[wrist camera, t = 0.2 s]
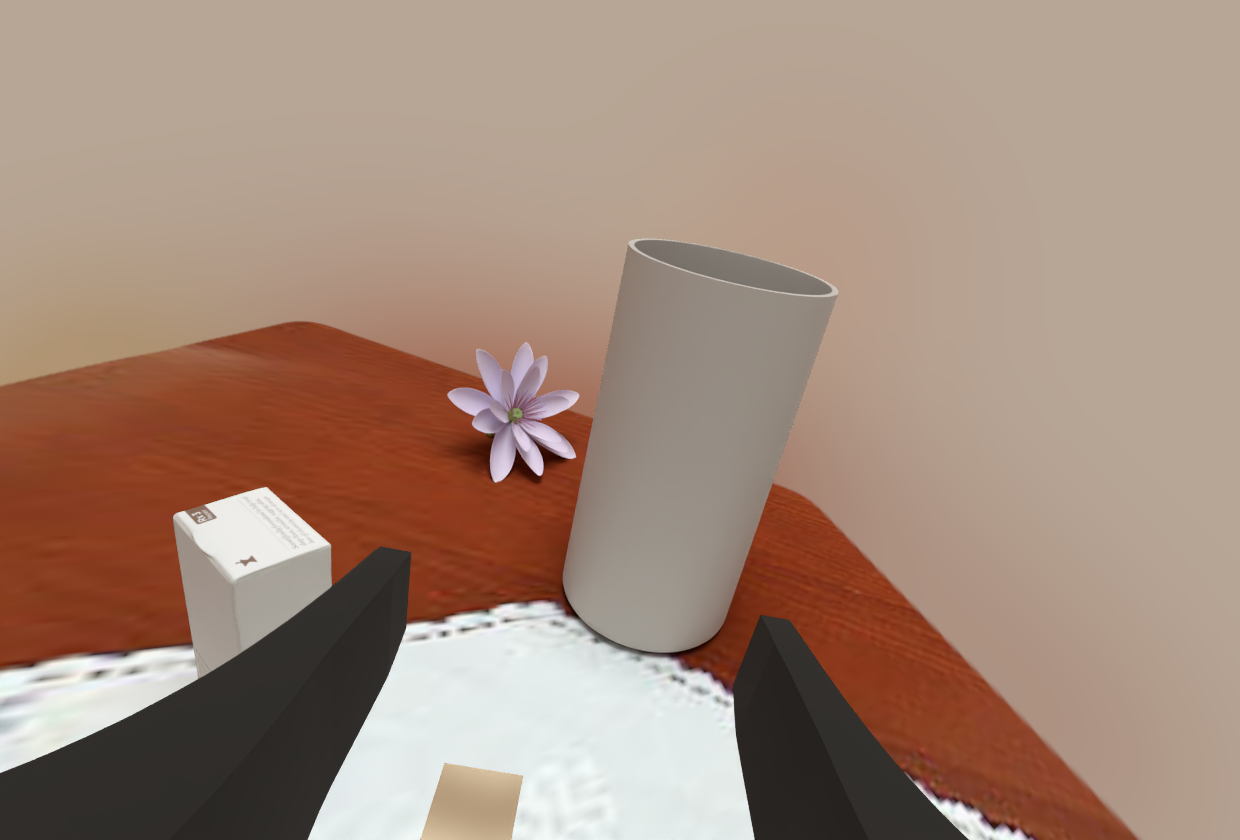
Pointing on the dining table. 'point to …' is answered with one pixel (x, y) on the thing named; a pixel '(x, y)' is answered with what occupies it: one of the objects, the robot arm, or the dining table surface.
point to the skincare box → (246, 571)
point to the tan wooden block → (473, 805)
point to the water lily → (515, 411)
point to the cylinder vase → (687, 437)
